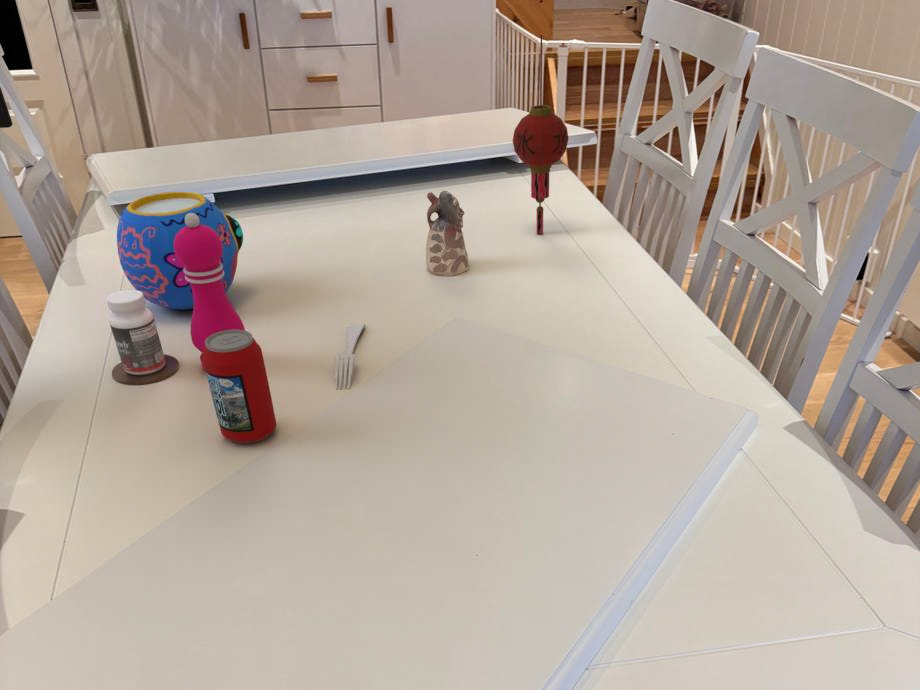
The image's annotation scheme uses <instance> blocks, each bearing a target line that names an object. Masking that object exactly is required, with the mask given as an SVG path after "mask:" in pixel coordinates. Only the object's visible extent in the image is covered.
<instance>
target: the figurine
mask: <svg viewBox="0 0 920 690" xmlns="http://www.w3.org/2000/svg"><path fill="white" fill-rule="evenodd" d="M426 198H427V200H428V201H429V202H430V203H431V205H429V207H428V209H427V212H426V221H427V223H428V226H429V230H428V234H427V238H426V246H425V262H426V263H425V264H426V268H427V271H428V272H429V273H430V274H433V275H435V276H441V277H451V276H457V275H460V274H463V273H464V272H468V271H469V270H470V262H469V261H470V260H469V255H468V252H467V248H466V243H465V238H464V234H463V231H462V228H464V221H463V219H464V218H463V217H464V215H465V211H464V210H463V208H462V207H460V202H459V200H458V199H457V197H456V196H454V194H453V193H451V192H450V191H448V190H442V191H440V193H439V195H438V197H437V196H436V194H434V193H433V192H432V191H429V192H428V193H427V194H426ZM434 213H436V214H437V216H438V217H437V218H436V219H434V220H432V219H431V217H432V215H433V214H434Z"/></svg>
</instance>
